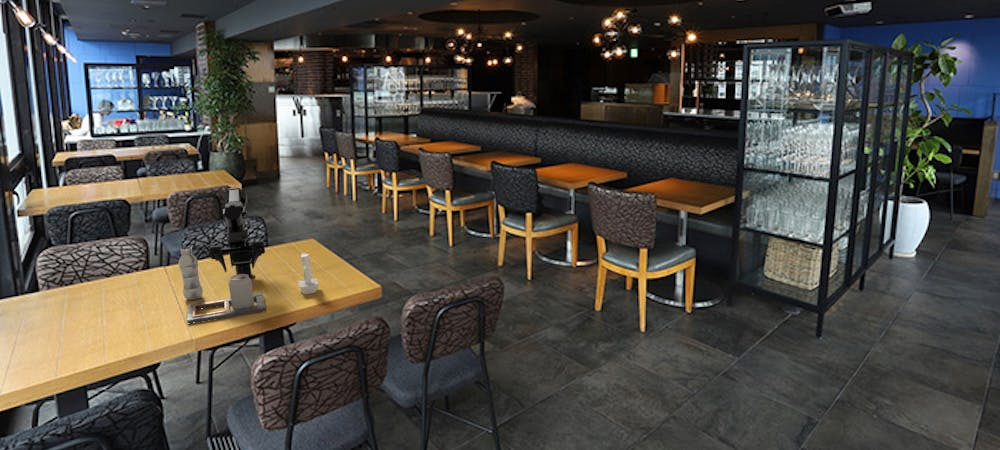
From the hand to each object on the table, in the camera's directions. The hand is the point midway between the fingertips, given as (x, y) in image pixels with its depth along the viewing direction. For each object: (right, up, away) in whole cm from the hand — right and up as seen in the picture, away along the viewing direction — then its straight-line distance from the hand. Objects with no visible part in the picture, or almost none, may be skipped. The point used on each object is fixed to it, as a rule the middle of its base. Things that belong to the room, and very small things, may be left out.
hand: (239, 270), depth 220 cm
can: (+2, -14, -2) cm, 14 cm away
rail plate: (-2, -14, -4) cm, 15 cm away
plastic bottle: (-20, -11, +6) cm, 24 cm away
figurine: (+22, -9, +12) cm, 27 cm away
